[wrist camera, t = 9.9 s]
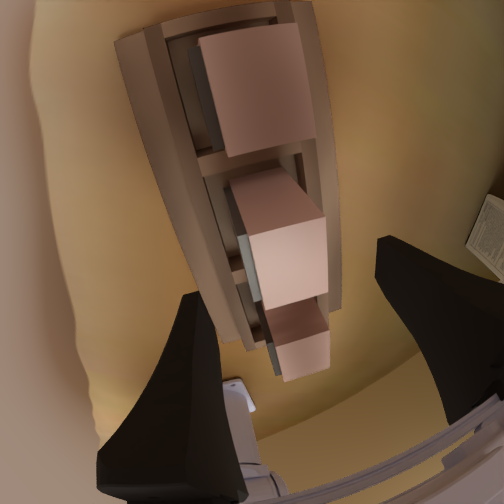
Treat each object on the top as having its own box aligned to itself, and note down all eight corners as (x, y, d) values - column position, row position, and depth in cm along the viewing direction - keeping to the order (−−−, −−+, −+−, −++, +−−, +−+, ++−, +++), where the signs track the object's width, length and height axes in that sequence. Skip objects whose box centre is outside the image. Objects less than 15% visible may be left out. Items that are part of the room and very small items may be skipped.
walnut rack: (221, 334, 24) (234, 409, 18) (118, 43, 11) (68, 26, 6) (336, 300, 24) (372, 365, 19) (304, 4, 12) (374, -25, 6)
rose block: (236, 241, 18) (256, 312, 13) (221, 181, 16) (237, 239, 11) (290, 227, 18) (328, 291, 13) (282, 166, 16) (325, 216, 11)
